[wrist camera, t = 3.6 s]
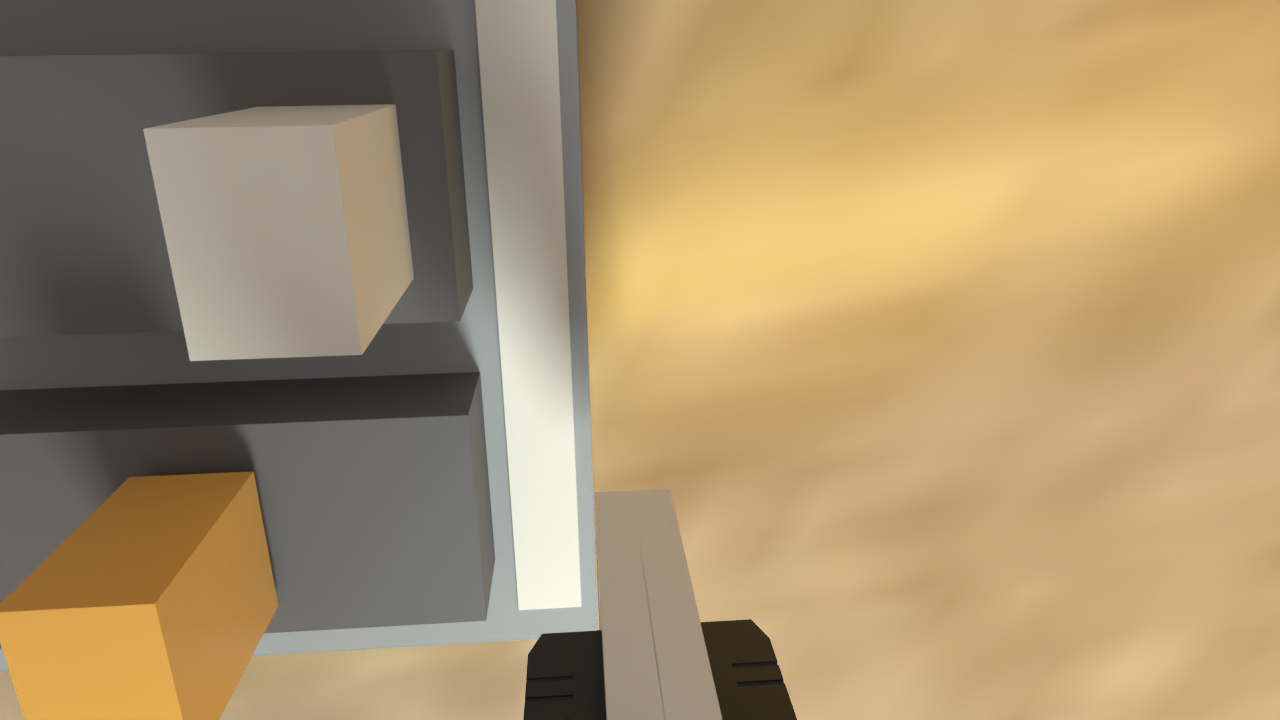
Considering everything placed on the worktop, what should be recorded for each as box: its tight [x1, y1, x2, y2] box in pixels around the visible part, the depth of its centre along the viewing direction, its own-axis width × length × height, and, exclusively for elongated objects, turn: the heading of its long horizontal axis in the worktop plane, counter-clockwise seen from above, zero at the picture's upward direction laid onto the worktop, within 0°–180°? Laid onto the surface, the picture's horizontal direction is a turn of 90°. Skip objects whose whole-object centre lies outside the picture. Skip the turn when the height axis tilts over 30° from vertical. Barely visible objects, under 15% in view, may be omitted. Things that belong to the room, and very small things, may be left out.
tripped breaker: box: [0, 471, 278, 720], centre depth 16 cm, size 2×3×4 cm
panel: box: [0, 0, 598, 671], centre depth 16 cm, size 16×24×8 cm, turn 1°
